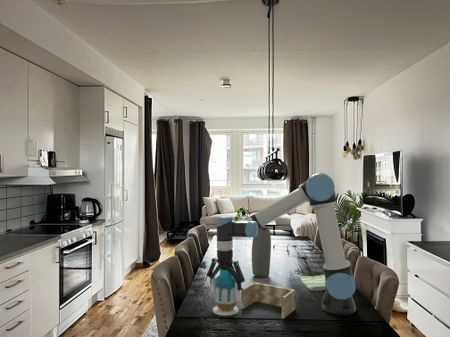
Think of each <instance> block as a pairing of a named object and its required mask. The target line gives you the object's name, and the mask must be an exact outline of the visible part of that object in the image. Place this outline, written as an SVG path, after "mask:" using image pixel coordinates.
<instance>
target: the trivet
mask: <svg viewBox="0 0 450 337" xmlns="http://www.w3.org/2000/svg"><path fill="white" fill-rule="evenodd" d="M212 313H213V314H214V315H217V316H233V315H236V314H238V313H239V308H238V306H237V305H236V306H235V307H234V308H233V309H231V310H221V309H219V308H218V307H217V305H216V306H214V307H213V308H212Z"/></svg>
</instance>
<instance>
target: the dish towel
mask: <svg viewBox="0 0 450 337" xmlns="http://www.w3.org/2000/svg"><path fill="white" fill-rule="evenodd" d="M298 279H299V280H300V281H301V283H302V284H303V285H304V286H305V287H306V288H307V289H308V290H309V291H311V292H318V291H319V292H321V291H322V292H323V290H325V275H324V274H319V275H313V276H311V275H302V276H299V277H298Z"/></svg>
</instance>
